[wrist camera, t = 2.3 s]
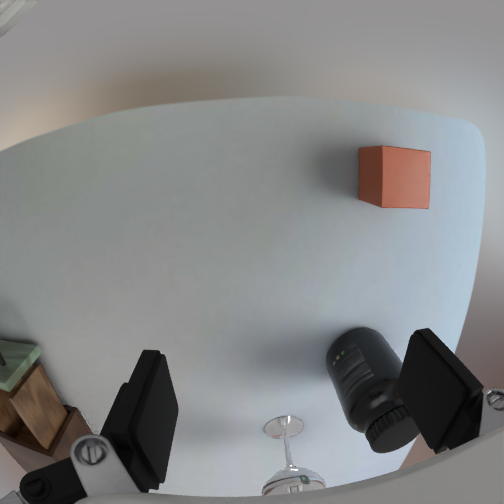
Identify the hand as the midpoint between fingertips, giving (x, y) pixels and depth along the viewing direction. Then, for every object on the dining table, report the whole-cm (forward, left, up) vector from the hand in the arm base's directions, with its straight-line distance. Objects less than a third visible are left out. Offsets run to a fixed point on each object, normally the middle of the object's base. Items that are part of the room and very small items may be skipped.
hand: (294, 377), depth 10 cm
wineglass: (+22, +8, -16) cm, 28 cm away
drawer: (+23, -27, -15) cm, 38 cm away
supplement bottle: (+9, +12, -16) cm, 22 cm away
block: (-9, +8, -16) cm, 20 cm away
